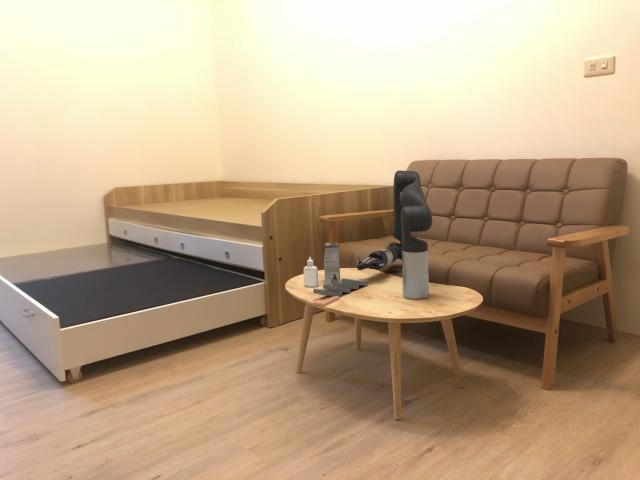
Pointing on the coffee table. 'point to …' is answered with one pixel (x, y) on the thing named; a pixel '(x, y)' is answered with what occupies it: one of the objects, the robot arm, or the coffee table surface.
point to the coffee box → (331, 262)
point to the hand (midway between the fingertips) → (359, 267)
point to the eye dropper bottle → (310, 274)
